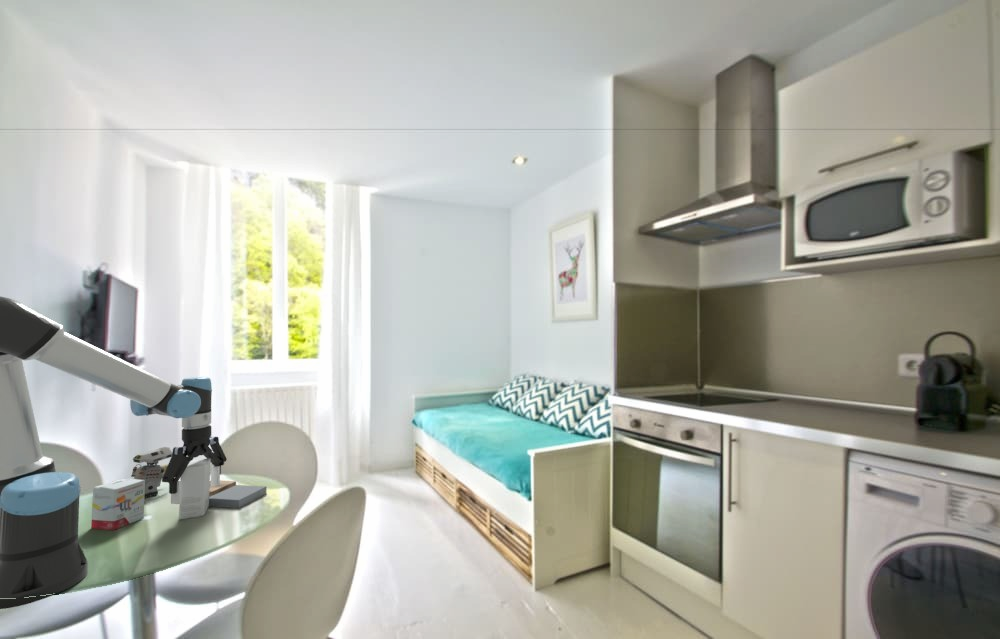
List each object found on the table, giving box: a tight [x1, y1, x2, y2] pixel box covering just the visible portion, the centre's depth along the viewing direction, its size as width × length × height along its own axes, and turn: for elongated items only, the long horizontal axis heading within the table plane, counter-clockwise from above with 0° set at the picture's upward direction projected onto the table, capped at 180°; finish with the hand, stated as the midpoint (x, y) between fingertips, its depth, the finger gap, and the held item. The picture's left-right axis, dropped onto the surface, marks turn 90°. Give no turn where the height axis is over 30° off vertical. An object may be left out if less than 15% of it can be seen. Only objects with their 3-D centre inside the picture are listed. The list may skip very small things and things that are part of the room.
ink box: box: [91, 477, 146, 531], centre depth 120 cm, size 9×9×12 cm
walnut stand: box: [209, 480, 237, 497], centre depth 141 cm, size 10×10×3 cm
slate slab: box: [209, 484, 267, 509], centre depth 136 cm, size 12×12×2 cm
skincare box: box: [178, 458, 211, 521], centre depth 126 cm, size 8×7×16 cm
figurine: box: [130, 446, 173, 499], centre depth 144 cm, size 9×12×15 cm
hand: (196, 494), depth 127 cm, fingers open, 13 cm apart
